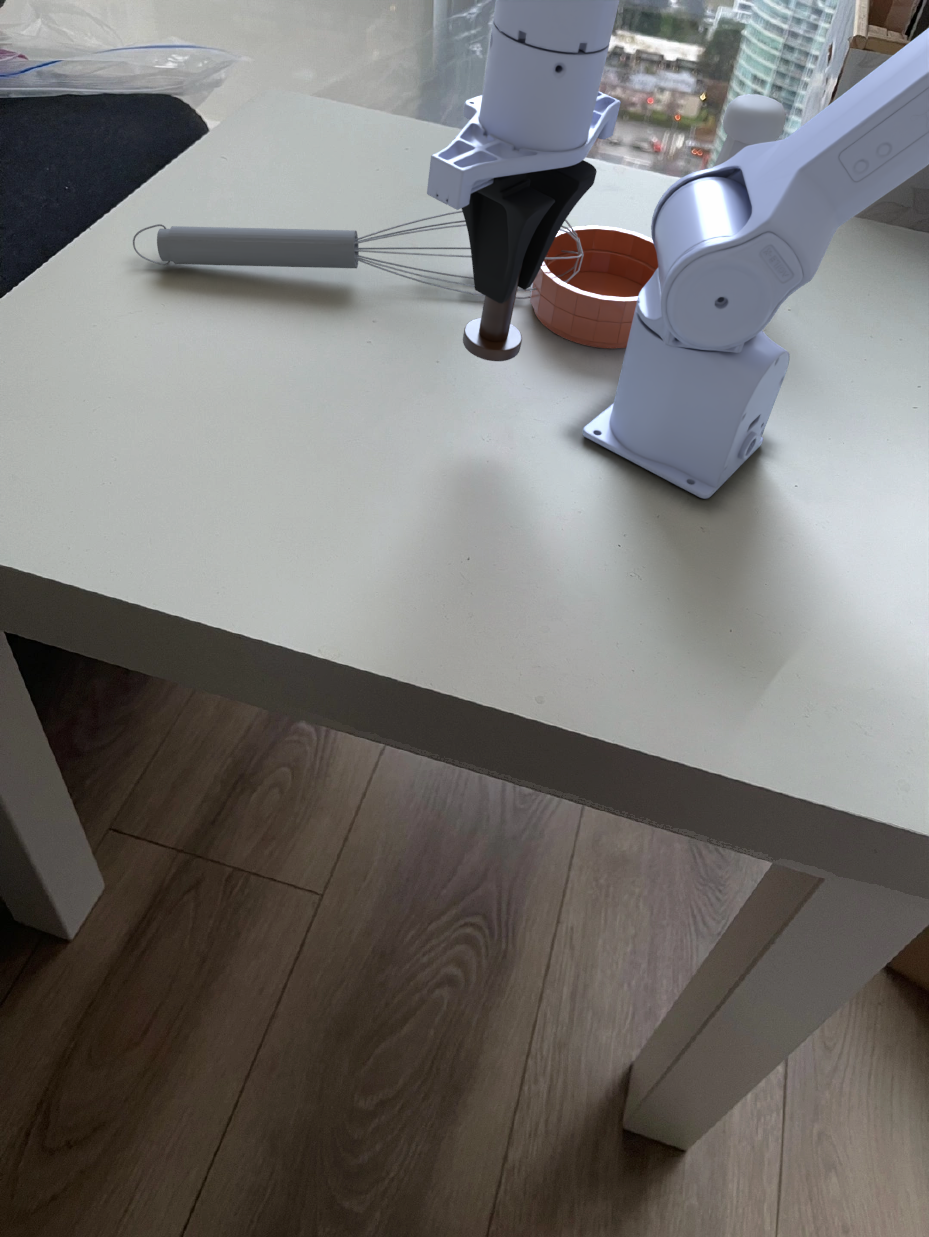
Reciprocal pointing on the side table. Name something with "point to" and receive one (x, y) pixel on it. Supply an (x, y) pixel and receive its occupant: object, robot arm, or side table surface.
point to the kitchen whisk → (299, 248)
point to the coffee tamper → (494, 331)
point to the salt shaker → (750, 123)
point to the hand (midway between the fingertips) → (503, 287)
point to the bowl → (594, 285)
